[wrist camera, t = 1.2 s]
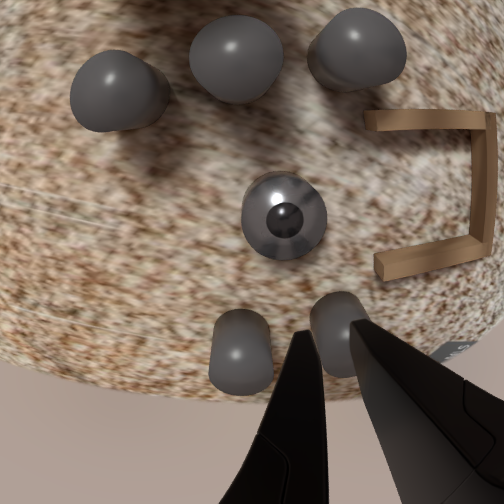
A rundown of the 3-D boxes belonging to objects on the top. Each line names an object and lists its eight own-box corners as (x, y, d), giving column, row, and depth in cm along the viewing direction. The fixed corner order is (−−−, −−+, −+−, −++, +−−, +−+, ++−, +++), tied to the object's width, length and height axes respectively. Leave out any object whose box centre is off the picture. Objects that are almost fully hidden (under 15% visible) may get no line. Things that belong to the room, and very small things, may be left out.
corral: (479, 111, 16) (495, 112, 14) (477, 246, 20) (490, 255, 18) (363, 110, 16) (374, 110, 15) (373, 269, 20) (383, 281, 19)
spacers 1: (364, 31, 14) (397, 10, 10) (376, 91, 16) (413, 85, 12) (102, 77, 15) (65, 68, 11) (113, 136, 16) (78, 143, 12)
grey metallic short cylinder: (311, 165, 18) (322, 171, 15) (320, 236, 20) (330, 252, 17) (235, 178, 18) (233, 186, 16) (249, 249, 20) (250, 267, 17)
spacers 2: (362, 286, 21) (385, 323, 17) (361, 330, 23) (380, 369, 18) (207, 313, 21) (200, 356, 17) (220, 354, 23) (217, 398, 19)
